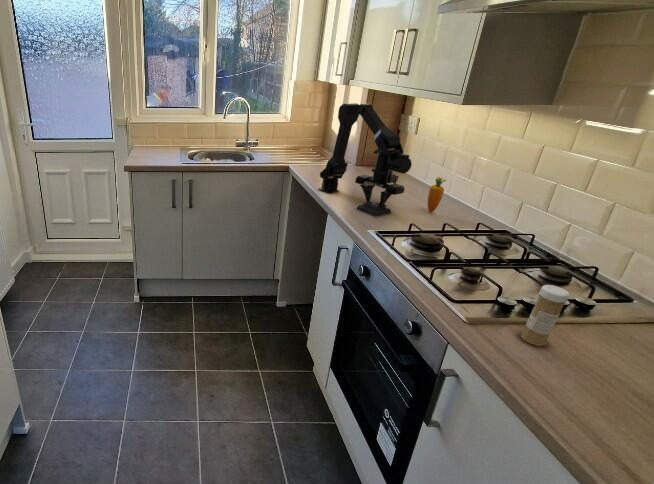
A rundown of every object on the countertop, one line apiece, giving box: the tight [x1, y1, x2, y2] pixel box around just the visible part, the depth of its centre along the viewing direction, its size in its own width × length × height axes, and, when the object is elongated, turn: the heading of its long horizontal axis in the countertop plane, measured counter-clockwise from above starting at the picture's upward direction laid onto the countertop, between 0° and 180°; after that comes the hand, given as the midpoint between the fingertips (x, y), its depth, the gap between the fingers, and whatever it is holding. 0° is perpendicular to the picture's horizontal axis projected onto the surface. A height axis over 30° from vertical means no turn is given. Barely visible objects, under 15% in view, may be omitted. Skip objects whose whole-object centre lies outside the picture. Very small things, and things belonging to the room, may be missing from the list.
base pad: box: [356, 200, 392, 217], centre depth 169 cm, size 9×9×4 cm
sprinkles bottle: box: [520, 284, 570, 347], centre depth 91 cm, size 5×5×13 cm
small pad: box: [362, 200, 387, 211], centre depth 169 cm, size 6×6×2 cm
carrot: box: [427, 176, 447, 214], centre depth 165 cm, size 5×5×15 cm
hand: (374, 204), depth 168 cm, fingers closed on small pad, 6 cm apart
